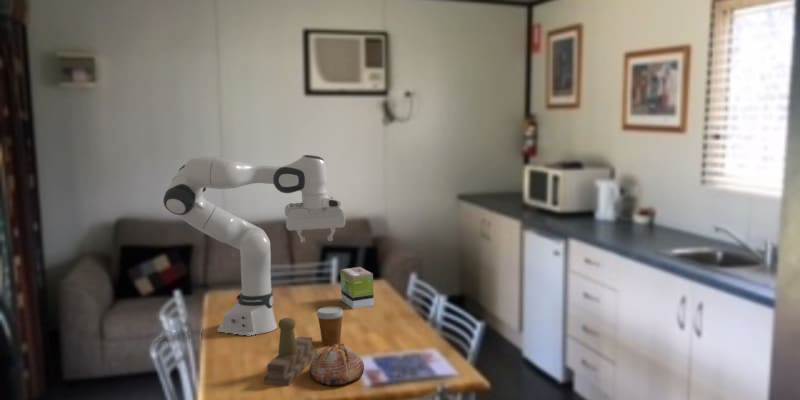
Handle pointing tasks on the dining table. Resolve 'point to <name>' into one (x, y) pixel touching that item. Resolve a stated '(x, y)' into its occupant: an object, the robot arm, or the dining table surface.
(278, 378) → the ridge stand
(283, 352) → the olive pawn
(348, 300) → the tea box
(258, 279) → the robot arm
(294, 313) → the dining table surface
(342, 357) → the bread
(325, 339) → the disposable coffee cup
